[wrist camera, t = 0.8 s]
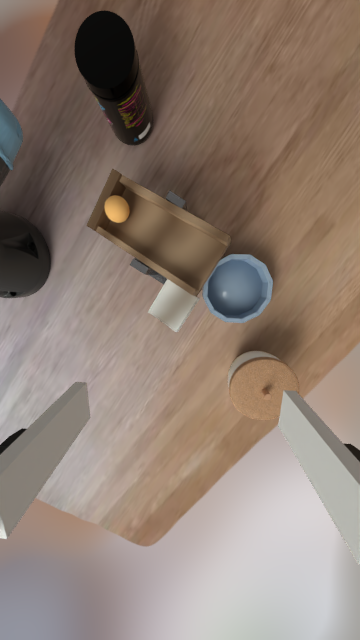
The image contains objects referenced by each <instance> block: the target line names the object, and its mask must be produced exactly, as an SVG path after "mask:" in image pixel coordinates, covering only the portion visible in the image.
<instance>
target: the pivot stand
mask: <svg viewBox="0 0 360 640" xmlns="http://www.w3.org/2000/svg"><path fill="white" fill-rule="evenodd" d="M166 200H167V201H169V202H171V203H173V204H174V205H176V206H178V207H180V208H182V209H183V210H185V211H187V207H186V201H185V200H183V199H182V198H180V197H179V196H177V195H176V194H174V193H173V192H171V191H169V193H168V195H167V197H166ZM130 265H131V266H132V267H134V268H136V269H137V270H139V271H140V272H142V273H143V274H146V275H150V276H151V277H153V278H155V279H156V280H158V281H159V282H161V283H163V284H165V282H166V281H167V278H165V277H164V276H162V275H161V274H159V273H158V272H156V271H155V270H153V269H152V268H150V267H149V266H147V265H146V264H144V263H143V262H141V261H140V260H138V259H137V258H135V259H133V260H132V262H131V264H130Z"/></svg>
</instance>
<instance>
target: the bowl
mask: <svg viewBox="0 0 360 640" xmlns="http://www.w3.org/2000/svg"><path fill="white" fill-rule="evenodd" d="M272 286H273V280H272V278H271V276H270V273H269V271H268V269H267V267H266V265H265V264H264V263H262V262H261V261H259V260H258V259H256V258H255V257H253V256H252V255H247V254H230V255H229V256H227V257H225V258H223V259H221V260H220V261H219V262H218V264H217V266H216V267H215V269H214V270H213V272H212V273H211V275H210V277H209V278H208V280H207V281H206V283H205V284H204V286H203V291H202V296H203V298H204V300H205V302H206V304H207V306H208V308H209V310H210V312H211V313H212V314H214V315H215V316H217V317H218V318H220V319H222V320H223V321H225V322H237V323H244V322H246V321H248V320H250V319H252V318H254V317H256V316H258V315H260V314H261V312H262V311H263V310H264V308H265V307H266V306H267V304H268V303H269V302H270V300H271V294H272Z"/></svg>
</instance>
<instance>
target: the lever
mask: <svg viewBox="0 0 360 640" xmlns="http://www.w3.org/2000/svg"><path fill="white" fill-rule="evenodd" d="M113 195H117V196H120V197H122V198H124V199H125V200H126V202H127V203H128V205H129V210H130V213H129V216H128V218H127V219H126V220H125V221H124V222H121V223H116V222H113V221H112V220H110V219H109V218H108V216H107V215H106V213H105V208H104V206H105V202H106V200H107V199H108V198H109V197H110V196H113ZM87 226H88V227H90V228H91V229H93V230H94V231H96V232H98V233H99V234H101V235H102V236H104V237H105V238H107V239H108V240H110V241H111V242H113V243H114V244H116V245H117V246H119V247H120V248H122V249H123V250H125V251H126V252H128V253H129V254H131V255H132V256H134V257H135V258H137V259H138V260H140V261H141V262H143V263H144V264H146V265H147V266H149V267H150V268H152V269H153V270H155V271H156V272H158V273H159V274H161V275H162V276H164V277H165V278H167V281H166V282H165V284H164V286H163V287H162V289H161V291H160V292H159V294H158V296H157V297H156V299H155V301H154V303H153V304H152V306H151V308H150V309H149V311H148V312H149V313H150V314H151V315H153V316H154V317H156V318H157V319H158V320H160V321H161V322H163V323H164V324H165V325H167V326H168V327H169V328H171V329H172V330H174V331H175V332H178V331H179V330H180V328H181V327H182V325H183V324H184V322H185V321H186V319H187V317H188V316H189V314H190V313H191V311H192V310H193V308H194V307H195V305H196V304H197V302H198V300H199V299H200V298H198V297H197V295H198V294H199V292H200V291H201V289H202V287H203V286H204V284H205V283H206V281H207V280H208V278H209V277H210V275H211V273H212V272H213V270H214V269H215V267H216V266H217V264H218V262H219V261H220V259H221V258H222V256H223V255H224V253H225V252H226V250H227V248H228V247H229V245H230V244H231V238H230V235H228V234H226V233H224V232H223V231H221V230H219V229H217V228H215V227H214V226H212V225H210V224H208V223H207V222H205V221H203V220H201V219H199V218H198V217H196V216H194V215H192V214H191V213H189V212H187V211H185V210H183V209H182V208H180V207H178V206H176V205H174V204H173V203H171V202H169V201H167V200H166V199H164V198H162V197H160V196H158V195H157V194H155V193H153V192H151V191H150V190H148V189H146V188H144V187H142V186H141V185H139V184H137V183H135V182H134V181H132V180H130V179H128V178H126V177H125V176H123V175H122V174H121V173H119V172H117V171H116V170H114V169H112V171H111V173H110V175H109V178H108V180H107V182H106V184H105V186H104V188H103V191H102V193H101V195H100V197H99V199H98V202H97V204H96V206H95V208H94V210H93V212H92V215H91V217H90V219H89V221H88V223H87Z"/></svg>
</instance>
